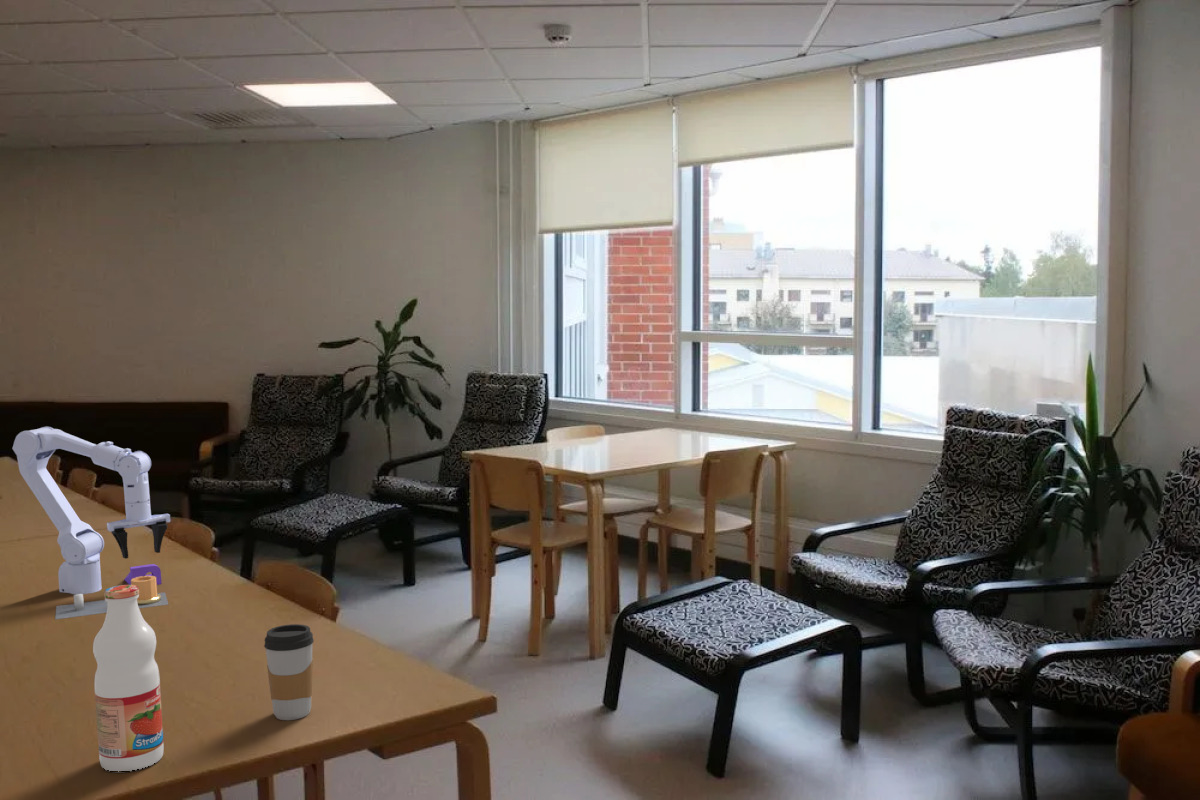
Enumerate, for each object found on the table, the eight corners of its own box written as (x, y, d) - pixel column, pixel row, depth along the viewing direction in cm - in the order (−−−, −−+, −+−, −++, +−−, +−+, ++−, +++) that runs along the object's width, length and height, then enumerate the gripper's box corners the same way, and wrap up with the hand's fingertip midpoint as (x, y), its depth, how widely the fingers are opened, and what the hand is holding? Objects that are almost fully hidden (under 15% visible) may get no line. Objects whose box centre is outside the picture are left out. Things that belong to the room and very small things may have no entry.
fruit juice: (113, 749, 174) (102, 581, 172) (172, 747, 175) (162, 579, 172) (89, 775, 165) (77, 597, 162) (152, 772, 165) (141, 595, 163)
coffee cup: (273, 706, 192) (269, 624, 190) (320, 703, 193) (317, 622, 191) (262, 724, 184) (258, 639, 182) (312, 721, 184) (308, 636, 183)
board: (55, 625, 243) (54, 604, 243) (56, 612, 254) (55, 591, 254) (168, 610, 254) (167, 589, 253) (165, 598, 264) (164, 578, 264)
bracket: (161, 591, 273) (160, 564, 272) (133, 595, 269) (131, 568, 268) (152, 581, 283) (150, 555, 282) (124, 585, 279) (122, 559, 278)
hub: (121, 604, 255) (120, 582, 254) (143, 595, 261) (142, 575, 261) (145, 606, 252) (144, 584, 252) (167, 598, 259) (166, 577, 259)
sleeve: (129, 600, 254) (128, 582, 253) (135, 594, 259) (134, 576, 258) (154, 599, 255) (153, 580, 254) (159, 593, 260) (157, 575, 259)
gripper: (111, 507, 257) (116, 563, 258) (172, 498, 267) (176, 552, 268) (102, 504, 262) (107, 558, 264) (163, 495, 272) (167, 547, 273)
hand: (141, 555), depth 266 cm, fingers open, 7 cm apart
